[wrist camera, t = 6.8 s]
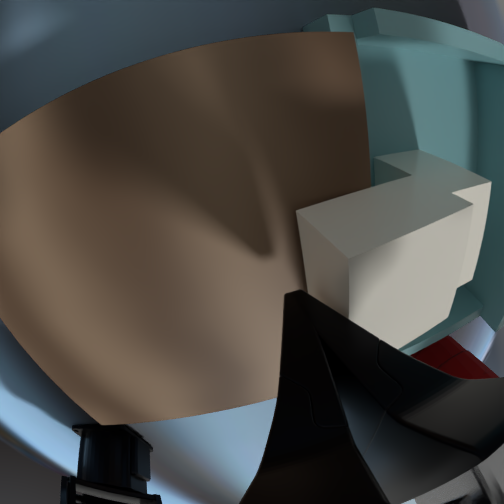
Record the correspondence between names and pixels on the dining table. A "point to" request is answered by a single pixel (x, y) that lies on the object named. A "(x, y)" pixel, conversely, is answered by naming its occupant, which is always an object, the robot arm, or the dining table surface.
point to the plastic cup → (453, 360)
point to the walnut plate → (175, 220)
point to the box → (437, 125)
